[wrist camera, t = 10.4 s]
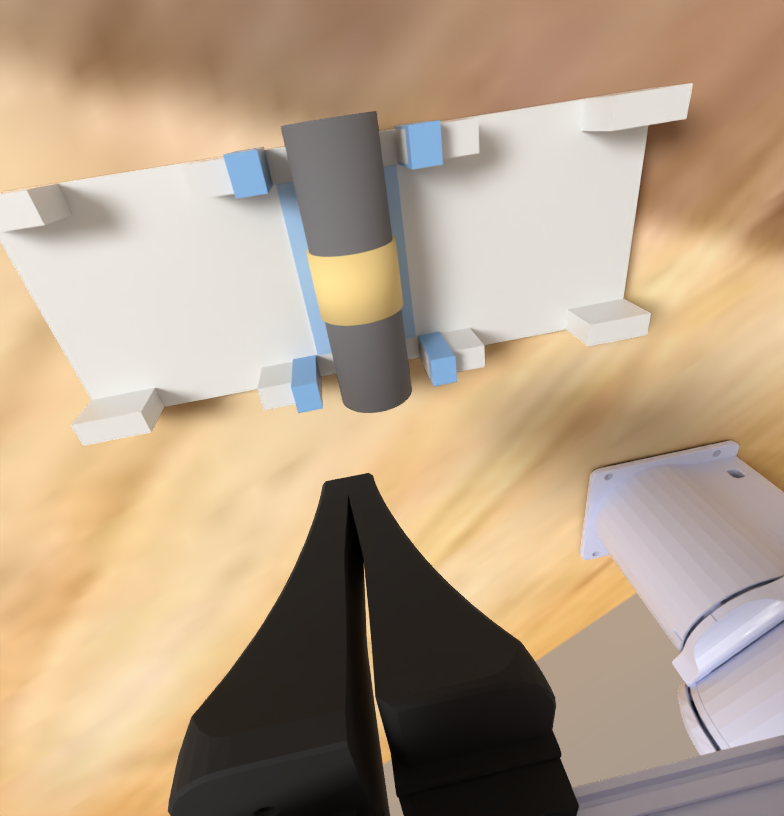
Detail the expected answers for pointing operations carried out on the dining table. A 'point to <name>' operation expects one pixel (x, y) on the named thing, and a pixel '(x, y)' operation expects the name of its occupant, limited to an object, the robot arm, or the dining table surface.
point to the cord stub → (352, 255)
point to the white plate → (289, 269)
